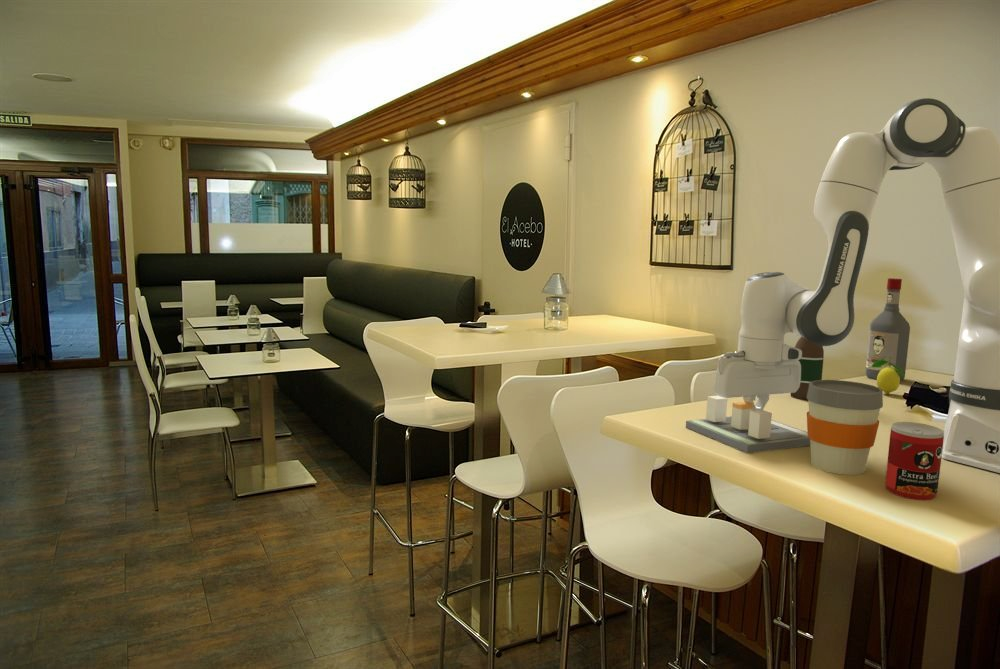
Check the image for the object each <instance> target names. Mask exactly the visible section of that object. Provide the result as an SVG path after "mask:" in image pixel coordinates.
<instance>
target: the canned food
mask: <svg viewBox="0 0 1000 669" xmlns="http://www.w3.org/2000/svg"><path fill="white" fill-rule="evenodd" d="M943 430H944V429H941V428H939V427H936V426H935V425H930V424H926V423H920V422H913V421H898V422H894V423H892V424H891V427H890V433H889V444H888V453H887V462H886V463H887V464H886V472H885V481H884V482H885V487H886V489H887V490H888V491H889V492H890V493H891V494H894V495H897V496H899V497H902V498H905V499H911V500H919V501H920V500H921V501H926V500H932V499H934V498H935V497H936V495H937V493H938V490H939V481H940V474H941V465H942V459H943V458H942V450H943V440H944V431H943Z"/></svg>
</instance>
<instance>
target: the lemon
mask: <svg viewBox="0 0 1000 669" xmlns="http://www.w3.org/2000/svg"><path fill="white" fill-rule="evenodd" d="M887 362H889V361H885V360H878V361H876V362H875V363H874V364H873V365H872V366H871V367H873V368H877V367H881V366H884V365H886V364H887ZM890 364H891V358H890V363H889V366H888V367H886V368H883V369H882V370H881V371H880V372H879V374H878V376H877V380H876V385H877V386H876V387H878V388H880V389H882V390H883V393H884V394H885V395H889V394H890V393H893V392H895V391H897V389H898V388H899V387H900V384H901V383H900V382H901V381H900V377H899V374H898V372H897V371H896V370H898V371H899V373H900V374H901V375H902V376H903V377H904V374H903V372H902V370H901V369H900V368H899V367H898V366H894V365H892V364H891V365H892V366H893V367H894V368H895V369H894V368H892V367H891V366H890ZM905 378H906V376H905V377H904V379H905Z"/></svg>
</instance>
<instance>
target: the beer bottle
mask: <svg viewBox="0 0 1000 669" xmlns="http://www.w3.org/2000/svg"><path fill="white" fill-rule="evenodd" d="M794 347H795V348H797V349H800V350H801V351H802V357H801V359H799V360H798V361H799V362H800V364H801V380H800V386H799V388H798V390H797V391H796V392H794V393H790V397H791V398H793V399H797V400H805V401H808V399H807V393H808V388H809V383H810V382H812V381H816V380H823V379H822V378H823V369H824V357H825V356H824V353H825V352H824V346H819V345H815V344H813V343H811V342H810V341H808V340H807V339H805V338H803V337H801V336H799V339H797V341H796V343H795V345H794Z"/></svg>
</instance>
